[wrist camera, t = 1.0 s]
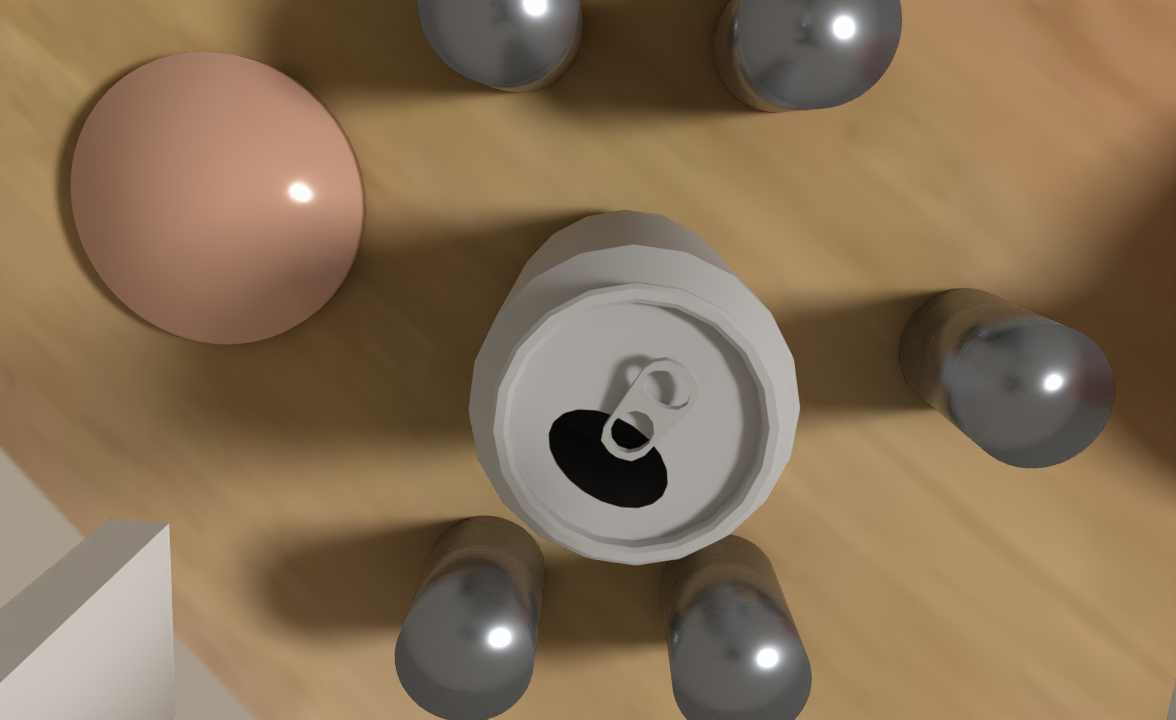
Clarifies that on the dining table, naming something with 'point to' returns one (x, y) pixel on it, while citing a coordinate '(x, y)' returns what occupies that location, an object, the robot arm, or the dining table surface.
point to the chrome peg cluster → (732, 564)
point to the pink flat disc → (217, 197)
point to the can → (632, 392)
